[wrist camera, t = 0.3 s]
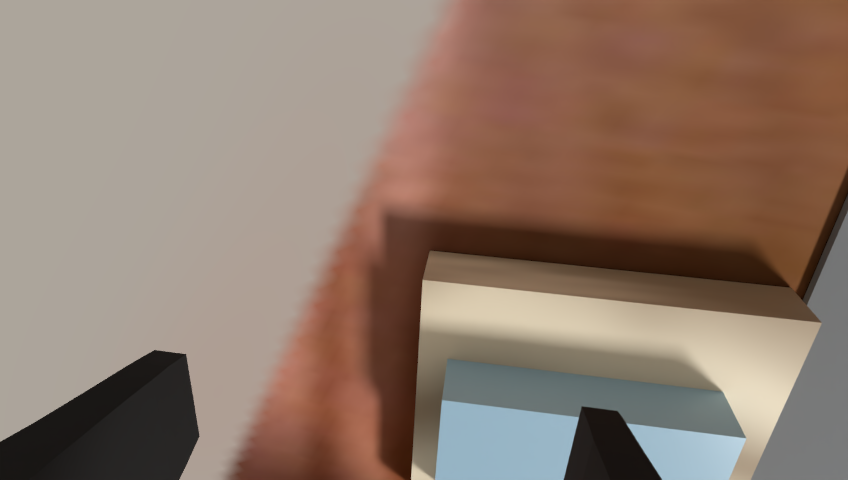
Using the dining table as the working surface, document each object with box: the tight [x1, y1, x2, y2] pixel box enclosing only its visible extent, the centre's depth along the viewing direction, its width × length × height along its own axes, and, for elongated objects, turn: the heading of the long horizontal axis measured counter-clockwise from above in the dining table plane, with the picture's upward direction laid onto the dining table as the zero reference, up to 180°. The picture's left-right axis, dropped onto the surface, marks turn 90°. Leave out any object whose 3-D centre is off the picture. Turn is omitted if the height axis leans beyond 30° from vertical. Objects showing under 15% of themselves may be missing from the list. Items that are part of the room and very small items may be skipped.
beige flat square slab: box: [411, 251, 822, 480], centre depth 21 cm, size 12×12×2 cm
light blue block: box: [435, 359, 747, 480], centre depth 19 cm, size 9×6×2 cm, turn 87°
